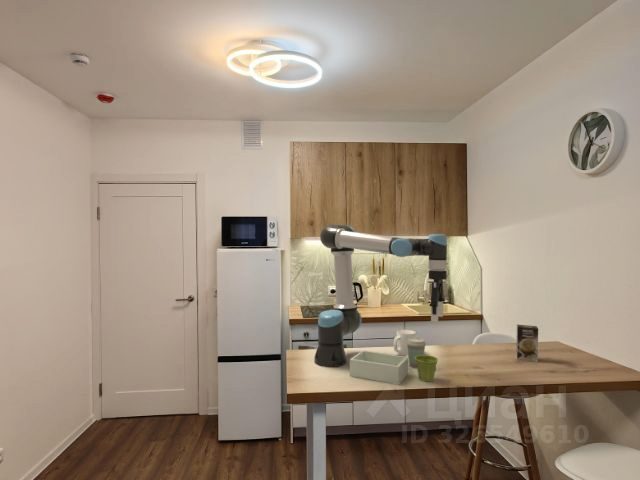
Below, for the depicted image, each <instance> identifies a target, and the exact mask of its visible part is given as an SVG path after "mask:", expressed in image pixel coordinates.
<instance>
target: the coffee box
mask: <svg viewBox="0 0 640 480" xmlns="http://www.w3.org/2000/svg"><path fill="white" fill-rule="evenodd" d="M515 337H516V340H515V341H516V344H515V346H516V347H515V358H516V360H517V361H526V362H534V363H538V361H539V327H538V326H536V325H529V324H528V325H527V324H526V325H525V324H524V325H523V324H516V336H515Z"/></svg>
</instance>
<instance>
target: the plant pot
mask: <svg viewBox="0 0 640 480" xmlns="http://www.w3.org/2000/svg"><path fill="white" fill-rule="evenodd" d="M415 359H416V363H417V368H416V369H417V375H418V376H417V377H418V379H419V380H420V381H425V382H433V381H434V380H435V375H436V374H435V373H436V368H437V364H438V361H439V358H438V357H436V356H434V355H430V354H429V355H427V354H424V355H419V356H416V357H415Z"/></svg>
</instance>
